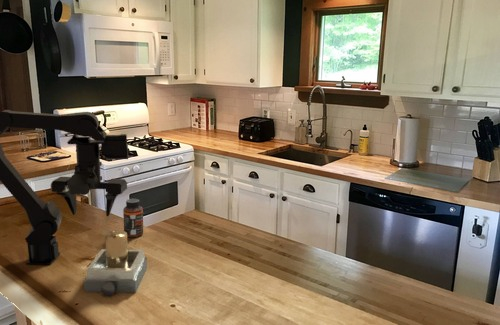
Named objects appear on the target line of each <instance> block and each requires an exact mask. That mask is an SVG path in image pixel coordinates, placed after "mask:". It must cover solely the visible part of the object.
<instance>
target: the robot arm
mask: <svg viewBox="0 0 500 325" xmlns="http://www.w3.org/2000/svg"><path fill="white" fill-rule="evenodd" d="M9 128H19V129H33V130H34V129H37V130H38V129H39V130H52V131H61V132H65V133H68V134H71V135H72V137H71V138H70V139H68V141H67V142H66V143H67V145H75V153H76V164H75V165H74V173H73V174H72V175H71V176H59V177H57V178H55V179H54V180H52V181H51V182H50V191H51V192H52V193H55V194H56V195H58V196H61V197H62V198H63V199H64V201H65V202H66V203H67V205H68V208H69V210H70V212H71V214H72V215H73V216H76V215H77V195H81V196H86V195H88V194H89V193H90V191H91V190H105V192H106V194H105V195H104V196H105V197H104V198H105V203H106V204H105V214H106V217H109V216H110V214H111V213H112V212H111V211H112V209H113V206H114V203H115V201H116V199H117V197H118V196H119V195H122V194H123V193H124V192H125V191H126V190H128V182H127V181H126V179H124V178H111V179H110V180H109V181H107V182H106V181H102V180H103V176H102V175H101V166H102V161H101V160H100V159H101V158H100V151H101V157H103V158H105V159H106V161H108V160H109V161H111V160H112V161H113V160H114V161H115V160H128V159H129V145H128V135H127V134H125V133H121V134H107V132H106V131H105V130H104V128H102V127H101V126H100V124H99V119H98V117H97V116H96V114H94V113H93V112H90V111H79V112H70V113H64V114H63V113H62V114H61V113H60V114H58V113H57V114H56V113H44V112H31V111H30V112H29V111H15V110H14V111H13V110H11V109H4V110H3V111H0V136H1V135H4V133H5V132H6V131H7V130H8V129H9ZM100 145H101V146H100ZM100 148H101V150H100ZM0 183H1V184H2V185H3V186H4V187H5V188H6V189H7V191H8V192H9V194H10V195H12V197H13V198H14V199H15V200H16V201H17V203H18V204H19V205H20V206H21V207H22V208H23V210H25V213H26V216H27V219H28V222H29V224H30V225H31V228H30V230H29V232H28V233H27V235H26V236H25V238H24V239H25V242H26V243H27V253H28V259H27V260H26V262H25V264H26V265H38V266H39V265H41V266H42V265H45V266H46V265H48V266H49V265H51V264H52V263H53V262H54V261H55V260H56V259H57V258H58V257H60V255H61V252H60V250H59V243H58V242H59V241H57V238H56V235H55V234H56V233H57V231H58V230H59V227H60V225H61V223H62V214H61V212H62V209H59V208H58V207H57V206H56V204H55V202H54V201H53V200H52V199H51V200H49V201H48V202H47V201H45V200H43V199H41V198H40V197H39V195H38V194H37V193H36V192H35V190H34V189H33V188H32V187H31V186H30V185H29V183H28V182H27V181H26V180H25V178H24V177H23V176H22V175H21V174H20V173H19V172H18V170H17V168H15V166H14V165H13V164H12V163H11V161H10V160H9V159H8V158H7V157H6V155H5V152H4V150H3V146H2V144H1V143H0Z"/></svg>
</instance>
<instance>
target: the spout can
mask: <svg viewBox="0 0 500 325" xmlns="http://www.w3.org/2000/svg"><path fill="white" fill-rule="evenodd" d="M128 245H129V244H128V237H127V233H126V232H125V231H124V230H112V231H108V232H107V233H105V234H104V246H105V247H104V248H105V251H106V268H128V250H129V249H128Z"/></svg>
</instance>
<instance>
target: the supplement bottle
mask: <svg viewBox="0 0 500 325" xmlns="http://www.w3.org/2000/svg"><path fill="white" fill-rule="evenodd" d="M125 202H126V203H125V205H126V206H124V208H123V210H122V213H123V231H125V232H126V233H127V238H138V237H140V236H142V235H143V234H144V210H143V206H141V205H140V203H141V202H140V199H138V198H129V199H127V200H126V201H125Z"/></svg>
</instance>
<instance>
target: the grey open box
mask: <svg viewBox="0 0 500 325" xmlns="http://www.w3.org/2000/svg"><path fill="white" fill-rule="evenodd" d="M147 259H148V258H147V257H145V249H128V268H106V251H105V249H103V248H102V249H101V250H100V251H99V252H98V253H97V255H96V256H95V258H94V259H93V260H92V262H90V264H89V265H88V267H87V268H86V270H85V271H86V274H85V275H86V276H85V278H84V279H83V287H84V293H101V294H102V295H103V296H104V297H112V296H113V295H114V293H130V294H131V293H133V294H135V293H137V291H138V289H139V286H140V285H141V282H142V280H143V278H144V276H145V274H146V272H147V269H148V260H147Z"/></svg>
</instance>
